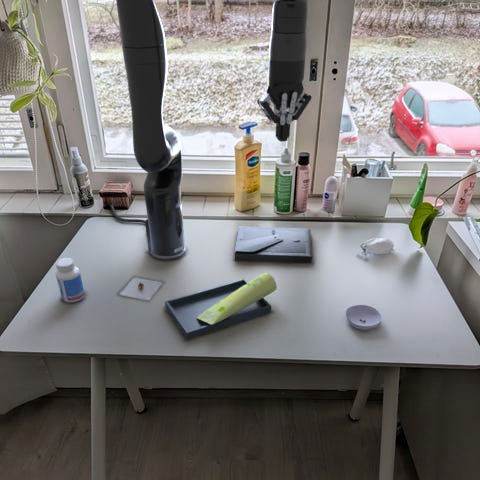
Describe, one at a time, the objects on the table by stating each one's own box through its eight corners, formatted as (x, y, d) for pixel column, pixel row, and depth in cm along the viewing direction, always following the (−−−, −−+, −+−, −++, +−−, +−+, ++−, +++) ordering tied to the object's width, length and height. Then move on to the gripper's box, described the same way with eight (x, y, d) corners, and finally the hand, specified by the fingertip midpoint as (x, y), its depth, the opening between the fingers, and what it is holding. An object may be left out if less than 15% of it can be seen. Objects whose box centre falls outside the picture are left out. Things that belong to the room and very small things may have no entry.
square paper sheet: (162, 282, 127) (162, 276, 126) (148, 300, 121) (147, 294, 120) (134, 277, 129) (133, 271, 127) (119, 294, 123) (117, 288, 121)
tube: (267, 266, 116) (197, 307, 109) (280, 283, 115) (211, 325, 108) (262, 278, 122) (195, 317, 115) (274, 294, 120) (208, 335, 113)
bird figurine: (372, 268, 135) (398, 249, 138) (368, 246, 131) (395, 228, 134) (359, 263, 139) (384, 245, 142) (355, 242, 135) (381, 224, 138)
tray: (244, 284, 126) (244, 278, 125) (271, 312, 117) (271, 305, 116) (165, 307, 118) (164, 301, 117) (187, 339, 109) (186, 333, 108)
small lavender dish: (351, 307, 119) (353, 301, 118) (384, 318, 116) (386, 311, 114) (339, 325, 113) (340, 319, 112) (373, 337, 110) (375, 330, 109)
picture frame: (234, 260, 135) (311, 263, 134) (234, 251, 134) (312, 254, 133) (238, 232, 148) (309, 235, 147) (238, 223, 146) (310, 226, 145)
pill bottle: (89, 292, 123) (81, 258, 117) (77, 304, 119) (68, 270, 113) (70, 288, 125) (61, 254, 119) (57, 300, 121) (47, 265, 115)
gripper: (304, 50, 108) (297, 131, 119) (250, 55, 104) (248, 139, 114) (324, 56, 103) (315, 141, 114) (268, 62, 98) (264, 150, 109)
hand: (282, 140), depth 114 cm, fingers closed
